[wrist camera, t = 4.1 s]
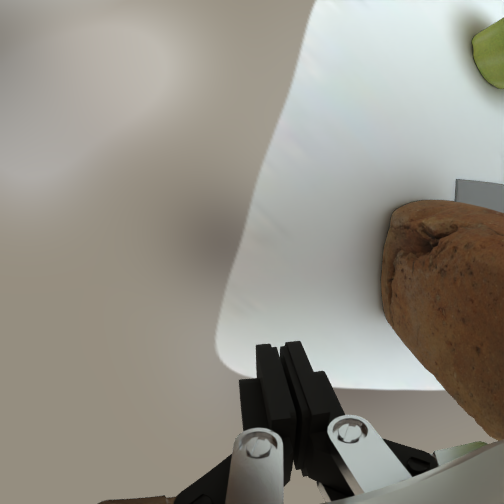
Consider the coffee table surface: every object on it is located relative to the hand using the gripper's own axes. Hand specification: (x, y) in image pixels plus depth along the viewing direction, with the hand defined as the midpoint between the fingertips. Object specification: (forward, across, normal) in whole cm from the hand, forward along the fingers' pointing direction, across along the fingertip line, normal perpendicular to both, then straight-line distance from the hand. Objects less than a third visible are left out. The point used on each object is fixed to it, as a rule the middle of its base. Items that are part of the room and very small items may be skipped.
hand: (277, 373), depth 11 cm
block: (+12, -14, 0) cm, 18 cm away
